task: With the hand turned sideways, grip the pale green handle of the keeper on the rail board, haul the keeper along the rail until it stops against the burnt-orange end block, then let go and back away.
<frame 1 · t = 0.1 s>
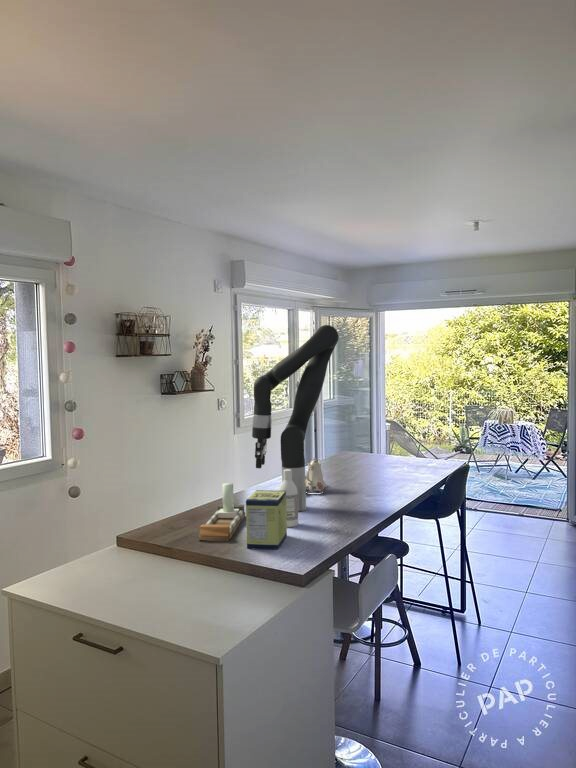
hand: (260, 466, 235), 17 cm above the table, tool pointing down, fingers open, 8 cm apart
bath foam: (288, 525, 211), on the table
chinaware: (309, 492, 265), on the table
rail: (223, 527, 210), on the table
keeper: (228, 500, 218), point 8 cm above the table, slide at 0.0 cm
protein box: (267, 542, 192), on the table
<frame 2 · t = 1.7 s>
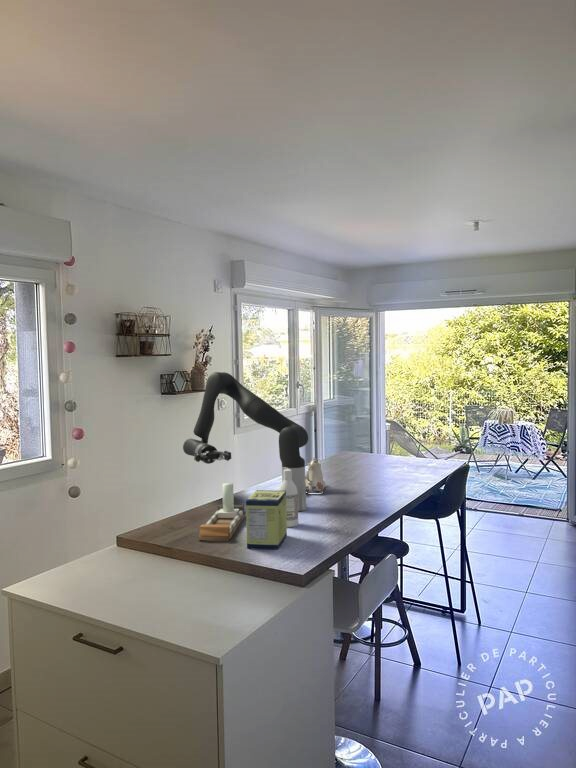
hand: (218, 458, 228), 22 cm above the table, tool horizontal, fingers open, 8 cm apart
nothing on the table moved.
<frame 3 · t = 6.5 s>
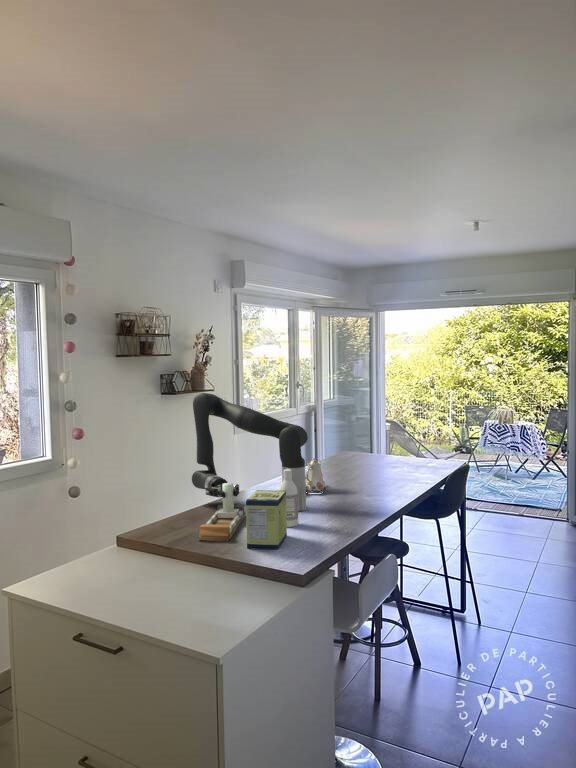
hand: (230, 494, 216), 10 cm above the table, tool horizontal, fingers closed on keeper, 4 cm apart
keeper: (228, 500, 218), point 8 cm above the table, slide at 0.0 cm, touching gripper
everything else where it was.
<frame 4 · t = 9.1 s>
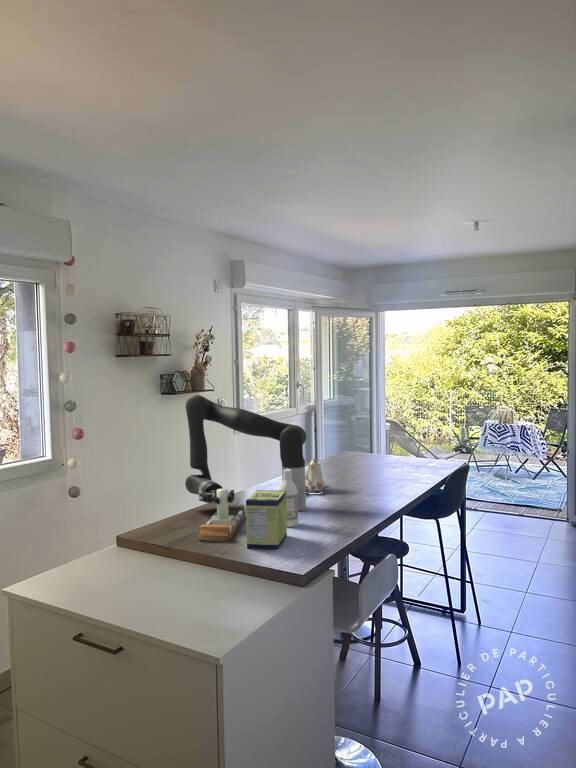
hand: (224, 500, 206), 11 cm above the table, tool horizontal, fingers closed on keeper, 4 cm apart
keeper: (222, 506, 209), point 8 cm above the table, slide at 9.8 cm, touching gripper
everything else where it was.
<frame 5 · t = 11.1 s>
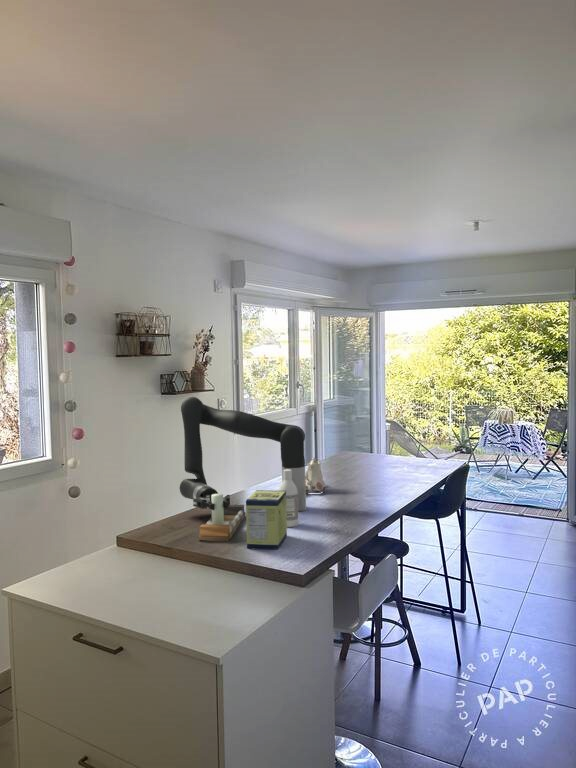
hand: (220, 506, 198), 11 cm above the table, tool horizontal, fingers closed on keeper, 4 cm apart
keeper: (217, 512, 201), point 8 cm above the table, slide at 17.9 cm, touching gripper
everything else where it was.
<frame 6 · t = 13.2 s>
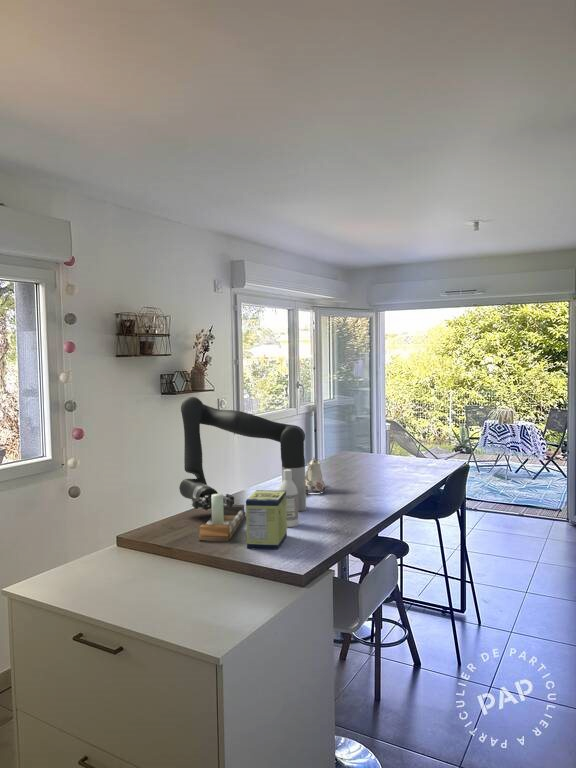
hand: (219, 505, 199), 10 cm above the table, tool horizontal, fingers open, 8 cm apart
keeper: (217, 512, 201), point 8 cm above the table, slide at 18.0 cm
everything else where it was.
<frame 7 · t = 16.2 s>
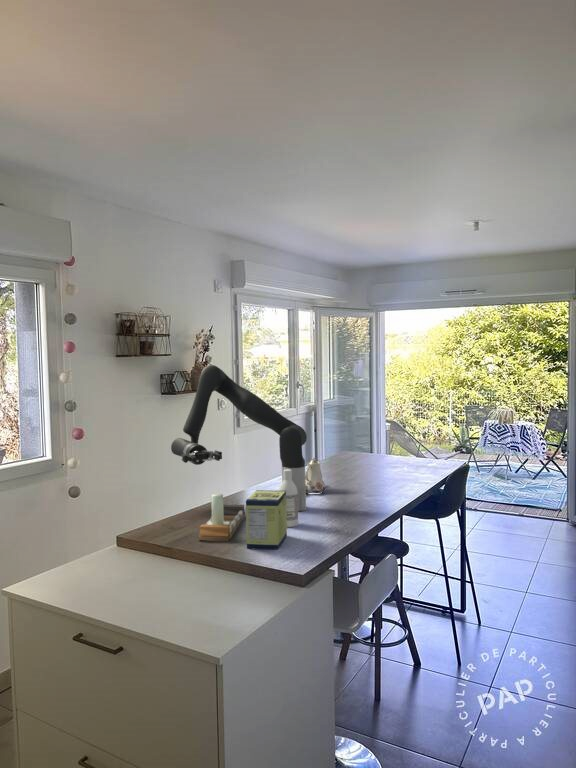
hand: (207, 459, 210), 25 cm above the table, tool horizontal, fingers open, 8 cm apart
nothing on the table moved.
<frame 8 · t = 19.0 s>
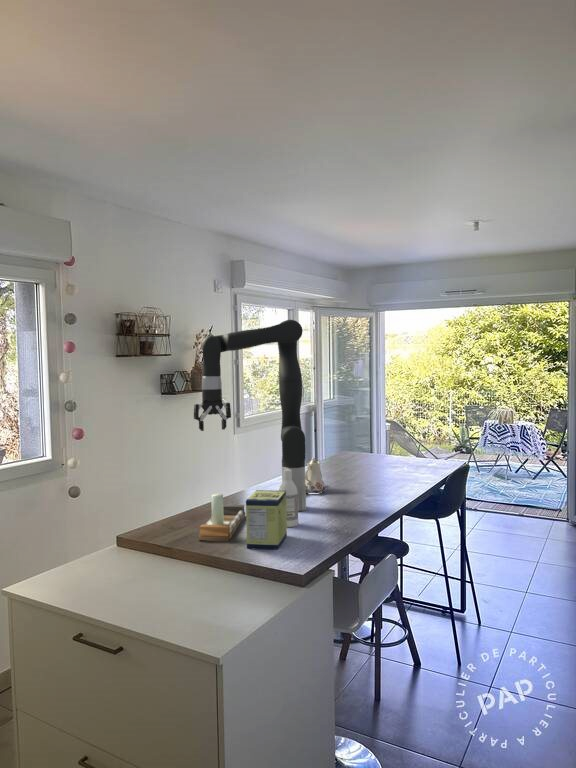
hand: (212, 430, 226), 33 cm above the table, tool pointing down, fingers open, 8 cm apart
nothing on the table moved.
at the end: keeper slide at 18.0 cm; the gripper is holding nothing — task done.
